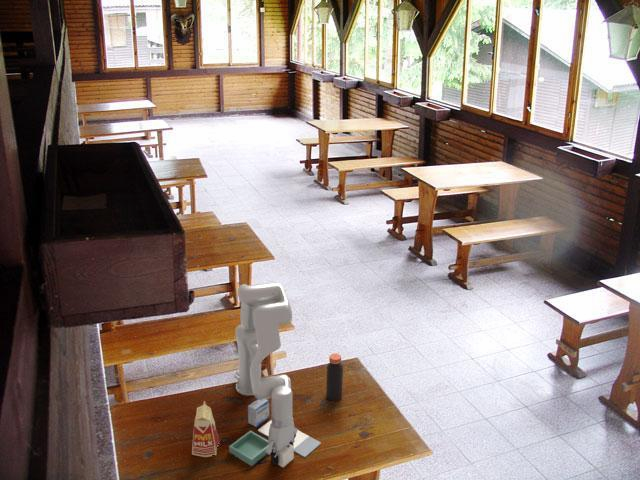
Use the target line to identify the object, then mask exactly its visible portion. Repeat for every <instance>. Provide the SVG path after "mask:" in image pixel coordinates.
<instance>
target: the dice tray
mask: <svg viewBox="0 0 640 480" xmlns="http://www.w3.org/2000/svg"><path fill="white" fill-rule="evenodd" d="M228 448H229V449H228V450H229V451H228V453H229V452H231V453H232V454H234V455H235V456H234V455H233V456H234V457H235V458H237V457H238V459H239V460H241V461H242V462H244V463H246V464H248V465H249V466H250V467H253V466H254V465H256V464H257V463H258V462H259V461H261V460H262V459H263V458H264V457H266V456H267V455H269V454H268V453H266V450H267V448H268V439H266V438H264V437H263V436H261V435H259V434H257V433H255V432H254V431H253V430H249V431H247V432H246V433H245V434H244V435H241V437H240V438H238V439H237V440H236V441H234V442H233V443H231V444H230V445H229V446H228ZM231 453H230V454H231ZM232 454H231V455H232Z"/></svg>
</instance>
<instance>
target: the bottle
mask: <svg viewBox="0 0 640 480" xmlns="http://www.w3.org/2000/svg"><path fill="white" fill-rule="evenodd" d="M328 361H329V363H328V364H327V365H326V384H325V385H326V389H325V391H326V394H325V396H326V398H327V399H328V400H329V401H333V402H335V401H336V402H337V401H340V400H341V399H342V397H343V379H344V366H343V364H342V355H341V354H339V353H331V354H330V355H329V359H328Z"/></svg>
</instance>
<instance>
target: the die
mask: <svg viewBox="0 0 640 480" xmlns="http://www.w3.org/2000/svg"><path fill="white" fill-rule="evenodd" d="M273 452H274V453H275V452H276V450H275V449H274V450H273ZM294 453H295V452H294V446H293V445H291V444H289V443H288V444H287V445H286V446H284V447H283V448H282V449H281V450H279V452H278V455H277V456H278V465H277V466H280V467H281V468H285V467H286V466H287V465H288V464H290V463H291V461H293V460H294V458H295V455H294Z"/></svg>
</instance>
